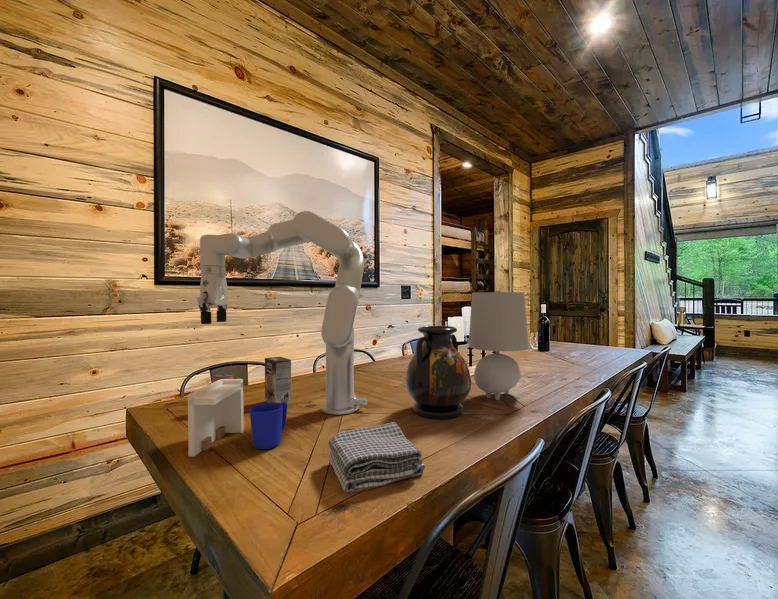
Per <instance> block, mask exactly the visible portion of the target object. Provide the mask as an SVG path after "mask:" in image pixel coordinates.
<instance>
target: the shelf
mask: <svg viewBox="0 0 778 599" xmlns="http://www.w3.org/2000/svg"><path fill="white" fill-rule="evenodd" d="M244 421H245V420H244V379H243V378H234V379H220V380H218V381H216V382H211V383H209V384H207V385H205V386H203V387H201V388H198V389H196V390H194V391H192V392H190V393H188V394H187V426H188V427H187V429H188V430H187V432H188V434H187V435H188V436H187V438H188V439H187V441H188V442H187V443H188V445H187V446H188V457H196V456H197V455H199V454H200V453H201V452H205V451H207V450H209V449H210V448H211V447H212V446H213V442H214V441H216V440H221V439H222V438H223V437H224V436H225V435H226V434H242V433H243V432H244V431H245V430H244V428H245V427H244V426H245V425H244Z"/></svg>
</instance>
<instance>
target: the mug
mask: <svg viewBox="0 0 778 599" xmlns="http://www.w3.org/2000/svg"><path fill="white" fill-rule="evenodd" d="M287 411H288V404H287V402H281V403H275V402H269V403H268V402H262V403H258V404H254V405H253V406H251V407H250V408H249V416H250V428H251V440H252V444H253V447H255V449H258V450H270V449H272V448H276V447H278V445H279V444H280V443H281V440H282V432H283V431H284V429H285V428H286V422H287V416H288V415H287V413H288V412H287Z"/></svg>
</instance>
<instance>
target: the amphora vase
mask: <svg viewBox="0 0 778 599" xmlns="http://www.w3.org/2000/svg"><path fill="white" fill-rule="evenodd" d="M417 331H418V332H419V333H421V334H422V335H423V336H420V337H419V338H418V339H417V342H416V347H415V354H414V355H413V356H412V357H411V359H410V361H409V362H408V365H407V369H406V371H405V372H406V373H405V378H404V379H405V388H406V392H408V394H409V397H411V399H412V400H413V401H414V404H413V406H412V408H413V411H414V412H415V413H416V414H417V415H419V416H422V417H425V418H428V417H429V418H430V419H436V418H438V419H439V420H441V419H442V420H443V419H444V418H446V419H451V418H452V419H453V418H455V417H458V416H459V415H461V414H462V413H463V412H464V406H463V405H462V403H463V402H464V401H465V400H466V399H467V397H468V396H469V394H470V391H471V388H472V386H471V385H472V380H471V379H472V378H471V373H470V369H469V366H468V364H467V362H466V360H465V358H464V357H463V356H462V354H460V353H459V351H458V340H457V337H456V335H455V334H454V333H456V332H458V328H456V327H455V326H451V325H450V326H449V325H426V326H420V327H418V328H417ZM438 419H437V420H438Z"/></svg>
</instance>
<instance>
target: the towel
mask: <svg viewBox="0 0 778 599" xmlns="http://www.w3.org/2000/svg"><path fill="white" fill-rule="evenodd" d="M328 446H329V448H330V451H329V453H328V461H329V463H330V465H331V467H332V468H333V469H332V470H333V471H334V474H335V475H336V477H337V479H338V481H339V483H340V485H341V489H342V490H343V493H349V494H351V493H352V494H353V493H359V492H362V491H366V490H369V489H370V490H371V489H373V488H378V487H381V486H385V485H387V484H393V483H395V482H397V481H402V480H405V479H410V478H414V477H420V476H421V475H423V474H424V471H425V467H426V465H425V464H424V463H423V458H422V457H423V456H422V452H421V450H419V448H417V446H416V445H414V444H413V443H412V441H410V440H409V439H408V438H407V437H406V436H405V434H404V433H403V431H402V429H401V428H400V426H399V425H398V424H397V422H395V421H393V422H392V421H391V422H388V423H384V424H380V425H374V426H368V427H361V428H356V429H351V430H344V431H340V432H337V433H335V434H334V435H333V436H332V437H331V438H329V440H328Z"/></svg>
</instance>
